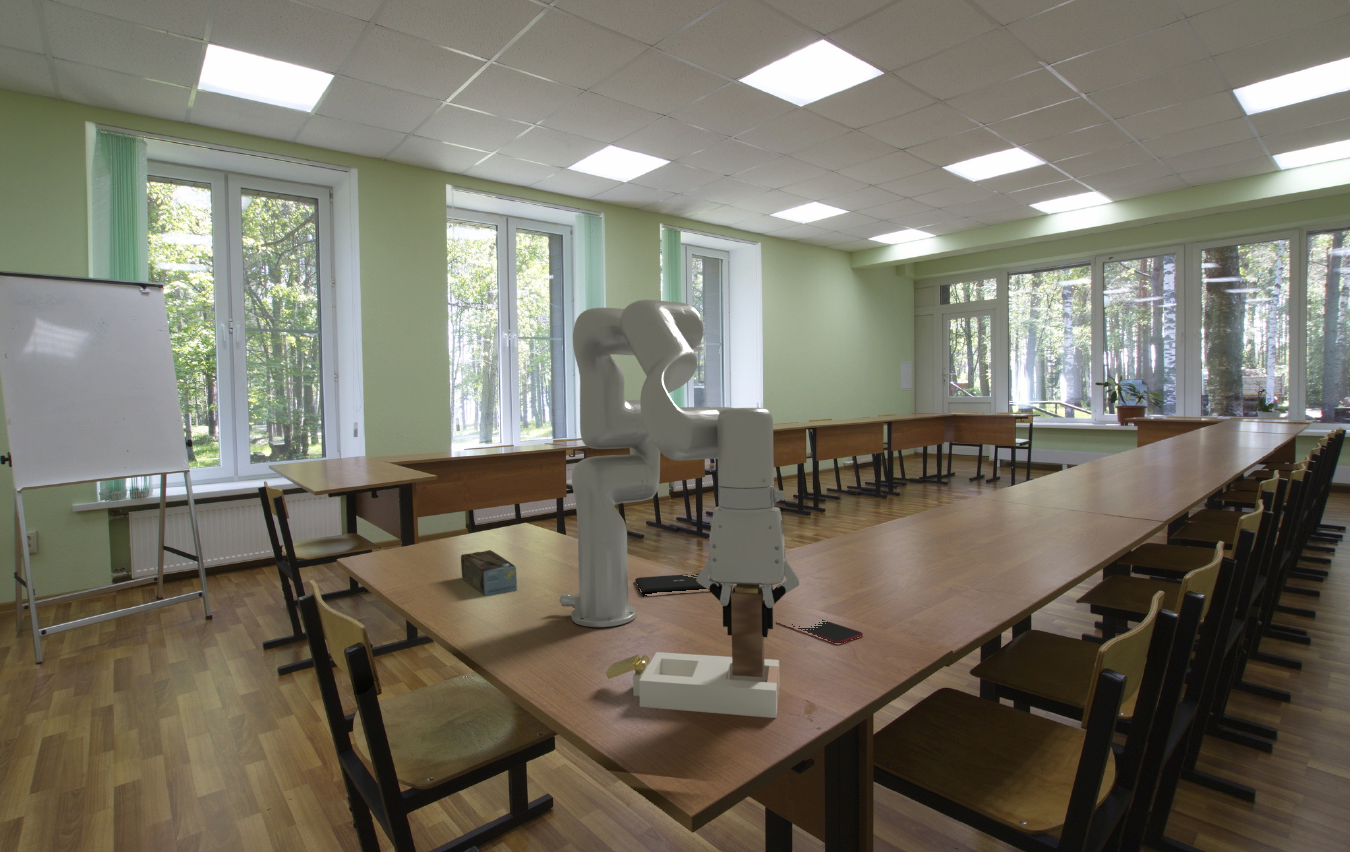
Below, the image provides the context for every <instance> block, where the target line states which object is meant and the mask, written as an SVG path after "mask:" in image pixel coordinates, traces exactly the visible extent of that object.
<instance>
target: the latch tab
mask: <svg viewBox="0 0 1350 852" xmlns="http://www.w3.org/2000/svg"><path fill="white" fill-rule="evenodd" d="M649 663H650V657H649V656H648V655H646V654H645V655H642V656H640V654H636V655H633V656H631V657H628V658H625V659H622V660H620V661H617V662H614V663H612V664H611V665H610V666H609V667H608V669H607V670H606V672H605V675H606V677H607V680H609V679H612V678H615V677H618V676H621V675H623V674H628V673H630V672H632V671H635V672H636V673H638V674H641V673H642V672H643V671H644V669H645V667H646V666H647V665H649ZM635 672H634V673H635Z"/></svg>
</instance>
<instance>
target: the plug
mask: <svg viewBox="0 0 1350 852" xmlns="http://www.w3.org/2000/svg"><path fill="white" fill-rule="evenodd" d="M763 601H764V596H763V591H762V586H760V585H754V584H735V585H734V584H733V588H732V593H731V614H732V635H731V657H732V675H736V676H751V677H763V672H764V659H765V637H763V636H762V606H763Z"/></svg>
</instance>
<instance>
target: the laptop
mask: <svg viewBox="0 0 1350 852" xmlns="http://www.w3.org/2000/svg"><path fill="white" fill-rule="evenodd" d="M688 574H689V573H688ZM688 574H687V573H686V574H685V573H684V574H673V575H659V576H658V575H656V576H655V575H654V576H645V577H644V576H640V577H637V578H635V579H634V582H635V581H636V583H637V584H638V586H639V588H640V589H641V591H642V594H641V596H642V595H643V596H647V595H645V594H652V593H657V592H672V591H686V590H699V589H706V588H705V587H704V586H702V585H701V584H699V583H698V582H697V580H696V579H697V578H693V577H698V576H694V575H691V576H693V577H688V576H683V575H688ZM695 574H696V575H699V574H700V573H695ZM710 578H711V577H710ZM636 583H635V584H636ZM718 583H719V582H718ZM719 584H720V585H721V586H723V583H719ZM643 596H642V597H643Z"/></svg>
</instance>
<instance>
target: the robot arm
mask: <svg viewBox="0 0 1350 852" xmlns="http://www.w3.org/2000/svg"><path fill="white" fill-rule="evenodd" d="M704 331H705V330H704V321H703V319H702V315H701V314H700V313H699V312H698V310H697V309H696V308H695V307H694V306H692V305H690V304H689V303H685V302H678V301H677V302H676V301H667V300H657V299H640V300H636V301H634V302H631V303H629V304H628V305H627V306H626V307H625V308H617V307H595V308H593V307H592V308H588V309H586V310H584V311H582V312H581V313H580V314H579V315H578V316H577V318H576V320H575V322H574V326H573V331H572V345H573V346H572V347H573V348H572V349H573V353H574V356H575V360H576V365H577V368H578V374H579V430H580V431H579V432H580V438H581V441H582V443H583V444H584V445H585V447H588V448H590V449H595V450H608V449H609V450H610V449H611V450H612V449H629V454H620V455H619V454H611V455H596V456H590V457H587V458H584V459H581V460H580V461H579V462H577V463H576V464H575V466H574V467H573V470H572V472H571V485H572V491H573V496H574V502H575V508H576V519H577V522H576V523H577V543H578V544H577V546H578V548H577V551H578V552H577V553H578V555H577V556H578V592H577V593H575V594H571V593H561V594H560V596H559V602H560V604H561V607H567V608H568V607H572V608H573V609H572V611H571V613H570V614H571V621H572V622H573V623H575V624H577V625H579V626H582V627H588V628H607V627H608V628H610V627H617V626H621V625H625V624H627V623H630V622H631V621H633V620H634V619H635V618H636V617H637V609H636V607H634V606H633V605H631V604H629V588H628V587H629V586H628V585H629V582H628V581H629V580H628V574H629V573H628V572H629V571H628V529H627V528H628V527H627V525H626V522H625V520H624V518H623V517H622V515H621V514H620V513H619V511H618V510H617V508H616V507H615V506H616V505H619V504H624V503H627V504H628V503H634V502H635V503H636V502H643V501H648V500H650V499H652V498H653V497H655V495H656V494H657V492H658V490H659V487H660V480H661V479H660V477H661V474H660V473H661V455H663V456H664V457H666V458H668V459H669V460H672V461H673V460H674V461H676V462H677V461H693V460H715V459H717V479H718V480H717V482H718V483H717V485H718V487H717V490H718V495H717V496H718V498H717V499H718V502H717V503H718V506H716V507H714V509H713V513H712V518H711V519H712V520H711V526H710V534H709V535H710V537H709V553H708V557H709V558H708V559H707V560H706V563H705V565H704V566H703V568H702V569H701V570H700V572H699V573H698V574H699V575H698V577H697V579H696V580H697V582H698V583H699V584H701V585H702V586H704V587H705V588H706V589H708V590H710V592H709V593H711V594H712V595H713V596H714V597H715V598H716V599H717V600H718V601H719V603H720V605H721V606H722V626H723V628H727V636H732V614H731V593H732V590H733V588H734V584H735V585H737V584H754V585H759V586H760V585H761V586H762V591H763V600H764V601H763V606H762V636H763V637H764V638H768V637H769V636H768V635H769V630H774V606H775V605H776V603H777V602H778V601H779V600H780V599H782V598H783V597H784V595H785V594H787V593H789V592H791V591H793V590H794V589H797V587H799V585H800V579H799V577H798V576H797V574H796V573H795V571H794V570H793V568H792V567H791V565H790V563H789V562H788V561H787V560H786V549H785V544H786V543H785V531H784V523H783V518H782V512H781V508H780V507H778V506H777V507H776V506H775V504H777V502H780V501H785V500H786V491H785V490H780V489H777V487H775V471H774V469H775V468H774V467H775V466H774V460H775V459H774V422H773V421H774V420H773V415H772V413H771V412H770V410H769V409H767V408H763V407H727V406H726V407H725V406H712V407H711V406H685V407H684V406H683V407H679V406H678V405H677V404H676V403H675V402H674V401H673V398H672V397H671V395H670V393H672V392H674V391H676V390H678V389H680V388H681V387H683V386H684V385H685V384H687V383H688V382H689V381H690V380H691V379H692V378H693V376H694V375H695V373H696V371H697V368H698V367H697V366H698V358H697V355H696V353H695V352H694V350H695V349H696V348H697V347H698V346H699V345H700V343H701V342H702V339H703V337H704ZM612 355H619V356H635V358H636V360H637V362H638V364H639V365H640V367H641V368H642V371H643V372H644V374H645V376H646V377H645V380H644V382H643V384H642V387H641V392H640V399H625V398H626V397H625V377H624V376H625V375H624V373H623V371H622V369H621V368H620V366H619V364H618V363H617V361H616V359H614V357H613V356H612ZM710 577H711V578H710ZM784 578H785V579H786V580H784ZM718 582H719V583H721V584H722V585H723V586H721V585H720V584H719V583H718ZM775 585H776V586H775ZM774 586H775V588H774Z"/></svg>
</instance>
